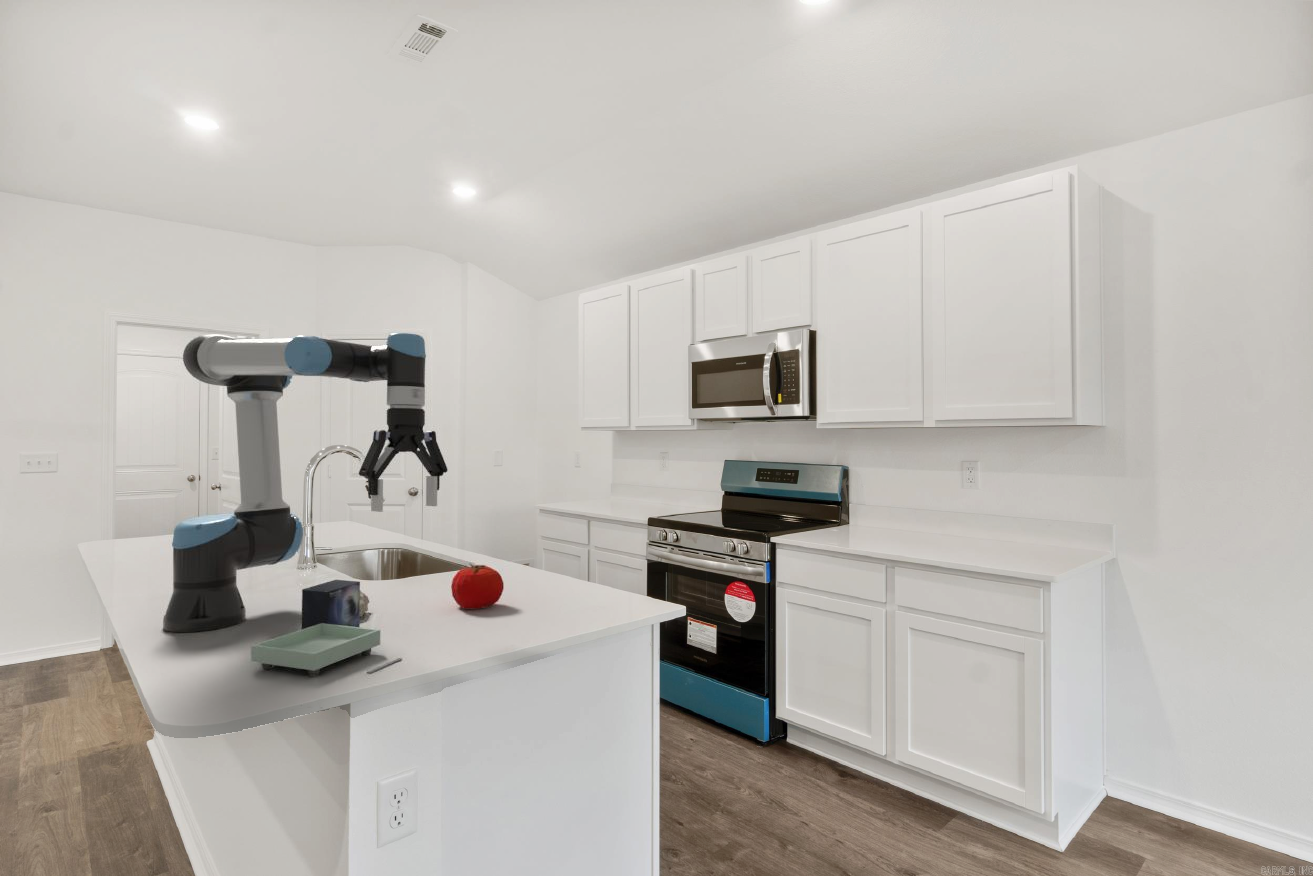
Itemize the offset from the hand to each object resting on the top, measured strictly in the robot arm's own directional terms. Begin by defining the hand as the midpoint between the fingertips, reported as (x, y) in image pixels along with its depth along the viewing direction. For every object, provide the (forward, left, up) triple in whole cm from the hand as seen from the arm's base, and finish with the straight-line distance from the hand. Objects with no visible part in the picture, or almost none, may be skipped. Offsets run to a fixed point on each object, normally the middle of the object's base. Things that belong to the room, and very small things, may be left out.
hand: (405, 508), depth 143 cm
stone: (-20, +5, -26) cm, 33 cm away
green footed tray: (-2, -21, -26) cm, 34 cm away
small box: (-13, -7, -26) cm, 30 cm away
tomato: (+2, +23, -26) cm, 35 cm away
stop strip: (+12, -19, -26) cm, 34 cm away
